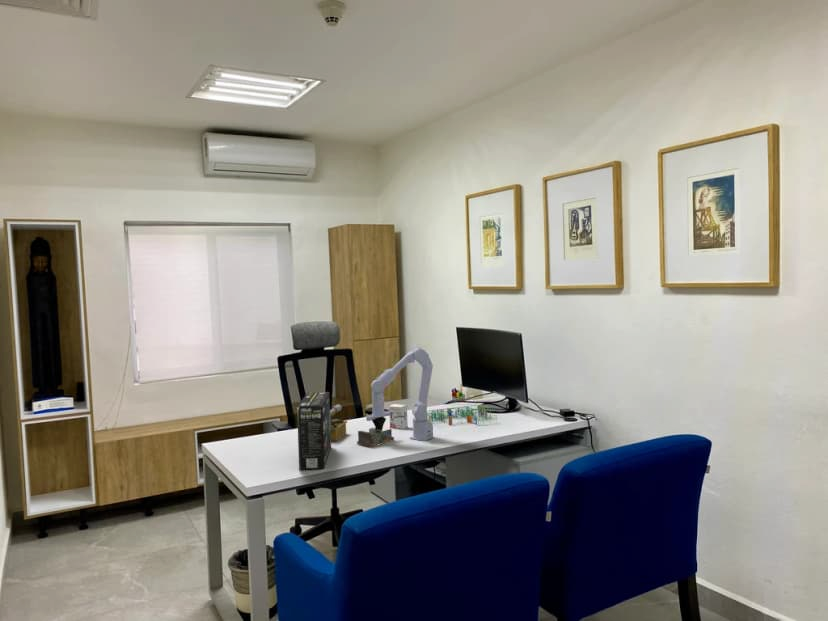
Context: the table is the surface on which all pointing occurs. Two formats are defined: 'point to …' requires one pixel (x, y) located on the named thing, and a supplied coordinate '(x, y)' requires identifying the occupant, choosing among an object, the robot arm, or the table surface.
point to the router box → (314, 430)
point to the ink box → (398, 416)
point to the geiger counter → (337, 424)
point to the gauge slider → (374, 430)
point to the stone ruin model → (374, 438)
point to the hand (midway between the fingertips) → (379, 432)
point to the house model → (467, 415)
